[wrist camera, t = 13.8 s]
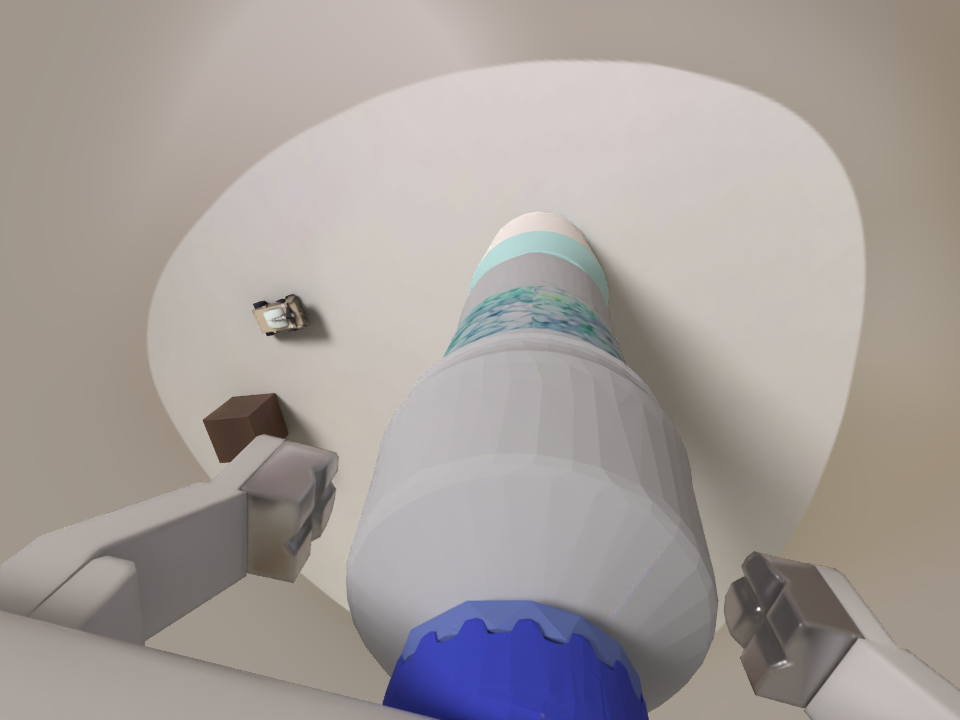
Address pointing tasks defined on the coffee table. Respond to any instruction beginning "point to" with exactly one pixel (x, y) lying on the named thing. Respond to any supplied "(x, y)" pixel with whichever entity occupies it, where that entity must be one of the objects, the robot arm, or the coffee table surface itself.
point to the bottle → (532, 521)
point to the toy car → (280, 315)
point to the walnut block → (243, 423)
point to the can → (542, 245)
